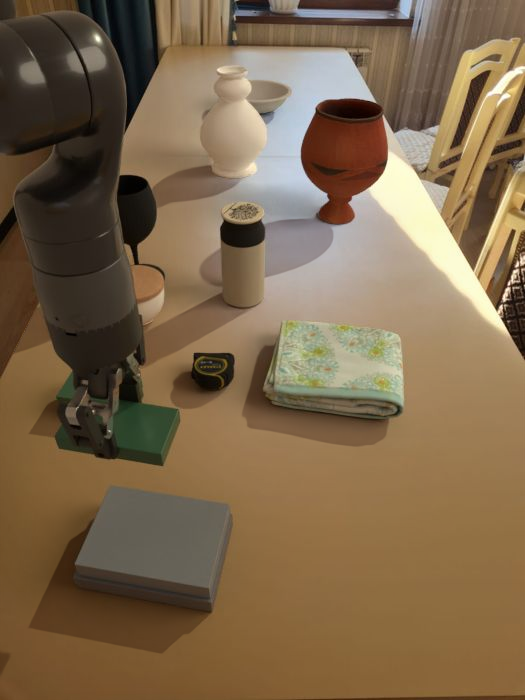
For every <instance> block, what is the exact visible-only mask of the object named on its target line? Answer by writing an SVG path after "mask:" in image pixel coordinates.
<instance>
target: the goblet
mask: <svg viewBox="0 0 525 700" xmlns="http://www.w3.org/2000/svg"><path fill="white" fill-rule="evenodd" d="M314 111H315V112H314V114H313V116H312V118H311V121H310V123H309V124H308V127H307V129H306V130H305V133H304V136H303V139H302V142H301V146H300V162H301V166H302V169H303V171H304V173H305V175H306V177H307V178H308V180H309V181H310V182H311V183H312V184H313V185H314V187H316V188H317V189H318V190H319V191H321V192H323V193H324V194H326V197H327V199H328V200H327V202H326V203H324V204H323V205H322V206H321V207H320V208H319V210H318V212H317V216H318V218H319V219H321V221H324V222H326V223H328V224H333V225H343V224H349V223H351V222H352V221H354V219H355V217H356V214H355V211H354V209H353V207H352V206H351V204H350V202H351V201H352V200H353V197H354V196H357V195H360V194H361V193H363V192H365V191H367V190H368V189H369V188H371V187H372V186H373V185H375V183H377V182H378V180H379V179H380V178H381V177H382V175H383V174H384V173H385V170H386V167H387V165H388V160H389V143H388V135H387V131H386V127H385V121H384V114H385V109H384V106H382V105H381V104H379V103H377V102H374V101H371V100H368V99H362V98H361V99H360V98H351V97H349V98H348V97H345V98H338V99H337V98H335V99H332V98H331V99H324V100H323V101H321V102H319V103H318V104H317V105H316V106H315V108H314Z"/></svg>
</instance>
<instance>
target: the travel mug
mask: <svg viewBox="0 0 525 700" xmlns="http://www.w3.org/2000/svg"><path fill="white" fill-rule="evenodd" d="M264 216H265V211H264V208H262V206H260V205H259V204H256V203H255V202H254V203H253V202H249V201H236V202H232V203H228V204H226V205H225V206H223V207H222V208H221V209H220V217H221V218H222V220H223V221H222V223H221V224H220V227H219V234H220V235H219V238H220V241H219V242H220V258H221V260H220V263H221V264H220V265H221V282H222V283H221V285H222V286H221V287H222V298H223V300H224V301H225V303H227V304H228V305H230V306H233V307H236V308H249V307H254V306H256V305H259V304H260V303H261V302H263V300H264V297H265V269H266V268H265V265H266V264H265V261H266V255H265V254H266V226H265V225H264V223H263V218H264Z"/></svg>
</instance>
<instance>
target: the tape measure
mask: <svg viewBox="0 0 525 700" xmlns="http://www.w3.org/2000/svg"><path fill="white" fill-rule="evenodd" d="M192 357H193V358H192V359H193V360H192V361H193V362H192V367H191V371H190V378H191V380H192V381H194V383H195V384H196V385H197V386H198V387H199V388H200V389H204V390H207V391H217V390H220V389H221V390H222V389H224V388H226V387H228V386H229V385H230V384H231V383H232V382H233V380H234V377H235V362H236V359H235V355H234V354H233V353H231V352H193V356H192Z"/></svg>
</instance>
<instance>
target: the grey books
mask: <svg viewBox="0 0 525 700" xmlns="http://www.w3.org/2000/svg"><path fill="white" fill-rule="evenodd" d="M98 508H99V509H98V511H97V513H96V514H95V517H94V519H93V521H92V523H91V527H90V528H89V530H88V532H87V535H86V537H85V539H84V541H83V543H82V546H81V548H80V551H79V553H78V555H77V558H76V559H75V562H74V564H73V565H74V567H75V571H74V574H73V575H72V580H73V581H74V584H75V586H76V588H78V589H84V590H88V591H94V592H99V593H106V594H111V595H116V596H121V597H127V598H131V599H138V600H142V601H149V602H155V603H159V604H163V605H164V604H166V605H170V606H176V607H180V608H186V609H192V610H197V611H203V612H208V613H213V611H214V607H215V603H216V598H217V594H218V590H219V585H220V581H221V578H222V577H221V576H222V573H223V569H224V564H225V560H226V557H227V551H228V547H229V543H230V539H231V534H232V530H233V526H234V519H233V517H234V516H233V513H231V504H230V503H226V502H219V501H214V500H213V501H212V500H206V499H200V498H193V497H187V496H182V495H175V494H168V493H163V492H156V491H150V490H144V489H138V488H132V487H131V488H130V487H125V486H119V485H113V484H109V486H108V488H107V491H106V493H105V495H104V497H103V499H102V501H101V504H100V505H99V507H98Z"/></svg>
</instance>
